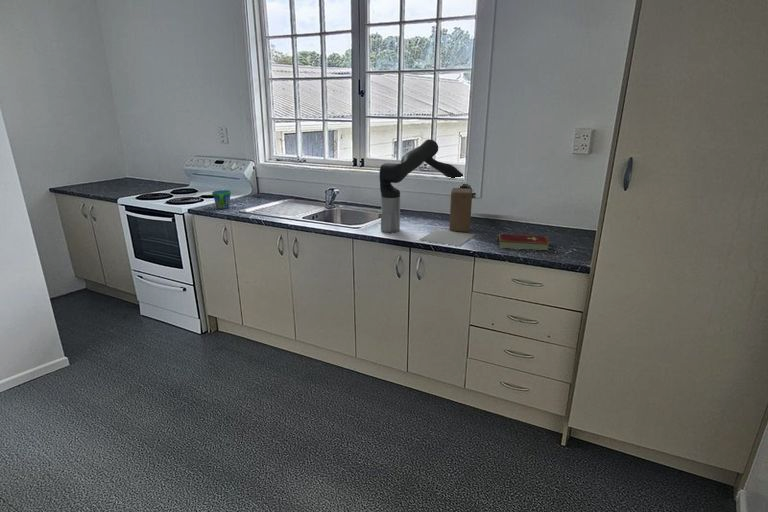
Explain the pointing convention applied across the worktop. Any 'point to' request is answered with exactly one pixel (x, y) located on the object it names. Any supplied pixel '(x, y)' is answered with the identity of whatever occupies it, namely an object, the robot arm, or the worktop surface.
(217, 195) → the snack cup
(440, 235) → the grey mat
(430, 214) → the worktop surface
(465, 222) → the wooden block
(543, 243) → the hardcover book
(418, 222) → the worktop surface
